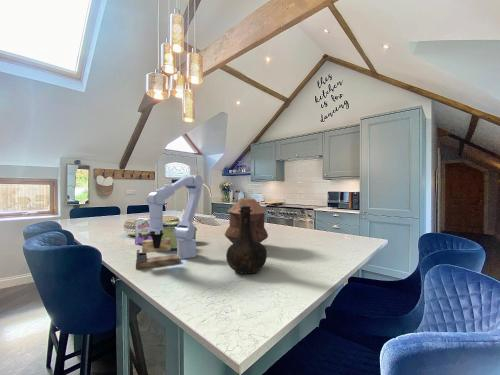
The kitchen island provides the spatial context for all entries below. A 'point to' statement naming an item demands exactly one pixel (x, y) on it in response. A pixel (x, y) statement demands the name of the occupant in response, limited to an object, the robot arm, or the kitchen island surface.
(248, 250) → the dark brown ceramic vase
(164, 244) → the oak rail
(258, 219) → the pottery vessel
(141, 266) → the walnut base board
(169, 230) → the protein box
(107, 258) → the kitchen island surface
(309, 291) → the kitchen island surface
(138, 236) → the candy box
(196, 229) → the food container
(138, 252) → the cup bracket
